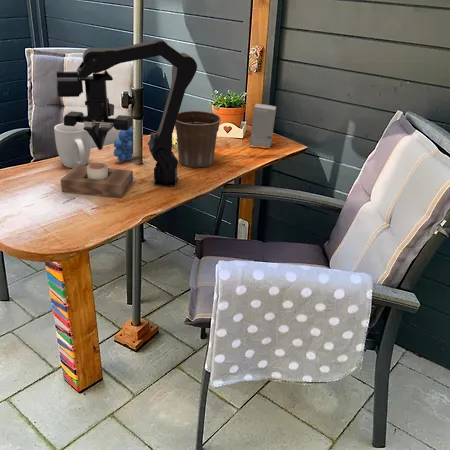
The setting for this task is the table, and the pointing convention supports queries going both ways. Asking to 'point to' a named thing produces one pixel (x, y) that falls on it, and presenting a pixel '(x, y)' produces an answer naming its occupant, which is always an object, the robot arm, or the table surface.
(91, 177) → the cream short cylinder
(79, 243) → the table surface
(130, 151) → the grapes
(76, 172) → the brown wooden block
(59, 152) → the mug
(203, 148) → the plant pot
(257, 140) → the skincare box
